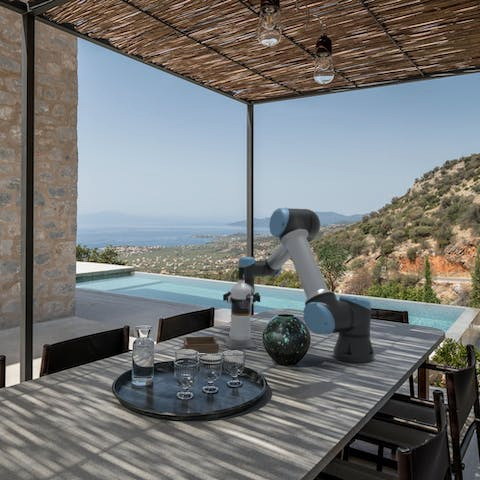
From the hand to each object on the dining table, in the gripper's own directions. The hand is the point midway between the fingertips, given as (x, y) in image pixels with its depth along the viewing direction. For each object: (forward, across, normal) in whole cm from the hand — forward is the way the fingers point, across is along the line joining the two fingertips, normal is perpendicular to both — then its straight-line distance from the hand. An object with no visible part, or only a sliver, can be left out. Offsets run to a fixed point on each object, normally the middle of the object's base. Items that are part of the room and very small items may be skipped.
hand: (240, 301), depth 186 cm
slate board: (-5, 0, -19) cm, 19 cm away
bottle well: (+7, +15, -19) cm, 25 cm away
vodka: (-5, 0, -17) cm, 17 cm away
